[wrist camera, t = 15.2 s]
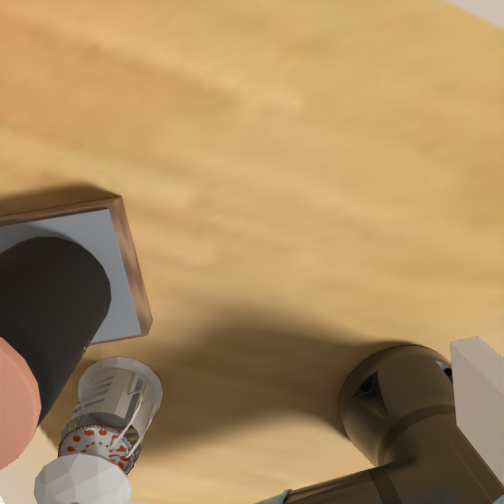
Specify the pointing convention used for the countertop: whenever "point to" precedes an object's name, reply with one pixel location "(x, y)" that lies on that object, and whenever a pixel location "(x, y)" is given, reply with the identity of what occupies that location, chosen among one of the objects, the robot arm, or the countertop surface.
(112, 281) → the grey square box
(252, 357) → the countertop surface
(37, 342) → the coffee jar
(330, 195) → the countertop surface
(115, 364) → the glass coffee plunger
